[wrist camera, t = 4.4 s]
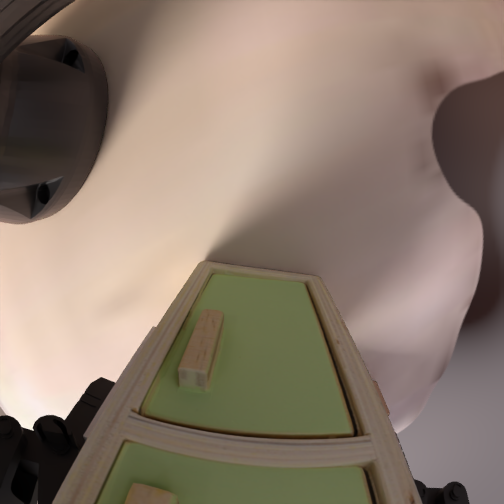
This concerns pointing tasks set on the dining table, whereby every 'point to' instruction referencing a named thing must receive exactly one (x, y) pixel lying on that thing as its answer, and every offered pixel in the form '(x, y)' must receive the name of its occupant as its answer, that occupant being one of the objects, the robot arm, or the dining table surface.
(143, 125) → the dining table surface
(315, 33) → the dining table surface
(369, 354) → the dining table surface
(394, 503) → the toy refrigerator
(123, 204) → the dining table surface
